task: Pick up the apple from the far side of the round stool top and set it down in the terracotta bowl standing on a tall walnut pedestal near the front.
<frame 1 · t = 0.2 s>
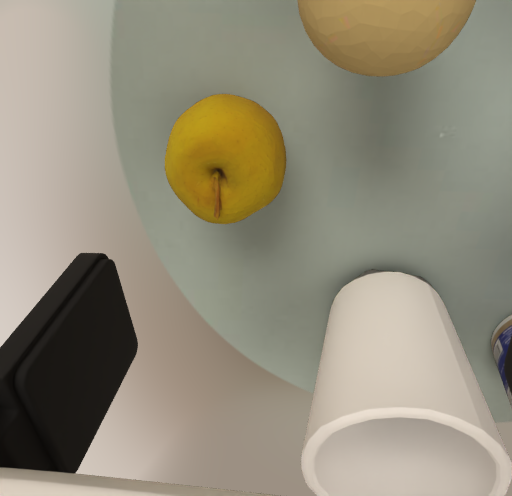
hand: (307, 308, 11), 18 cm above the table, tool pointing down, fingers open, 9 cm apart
apple: (241, 131, 29), on the table
cup: (385, 306, 34), on the table
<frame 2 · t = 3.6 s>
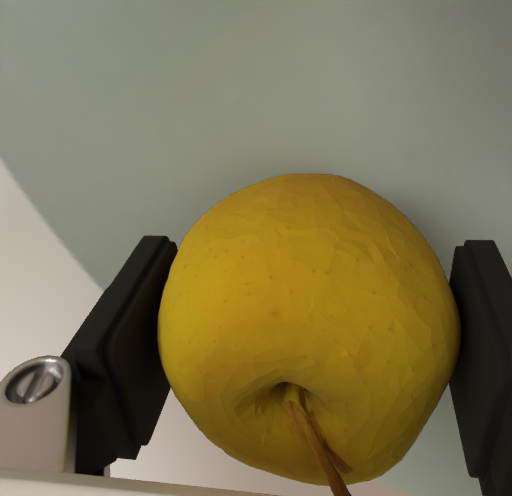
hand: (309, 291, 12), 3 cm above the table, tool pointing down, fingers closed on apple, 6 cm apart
apple: (316, 223, 14), on the table, touching gripper
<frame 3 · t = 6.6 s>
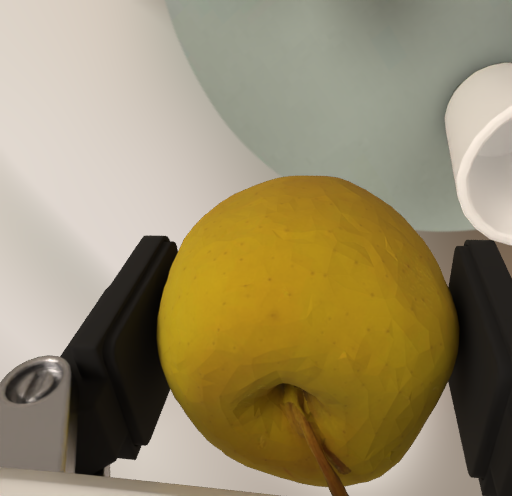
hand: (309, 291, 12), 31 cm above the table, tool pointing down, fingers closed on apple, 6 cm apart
apple: (315, 224, 14), point 28 cm above the table, touching gripper
cup: (493, 109, 38), on the table
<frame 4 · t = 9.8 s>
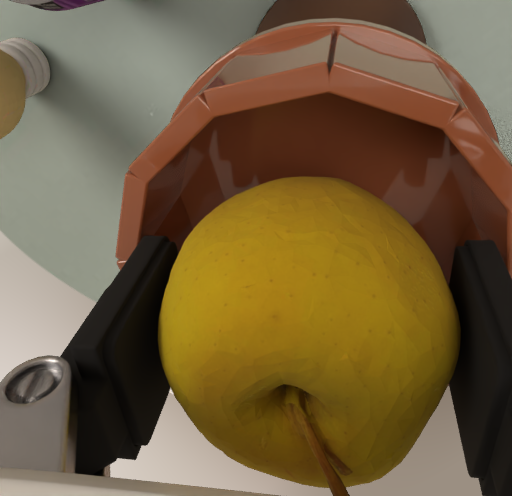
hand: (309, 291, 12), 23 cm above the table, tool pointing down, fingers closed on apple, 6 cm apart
pedestal: (335, 69, 31), on the table
light bulb: (31, 63, 34), on the table
apple: (316, 225, 14), point 20 cm above the table, touching gripper
bowl: (321, 194, 16), resting on pedestal
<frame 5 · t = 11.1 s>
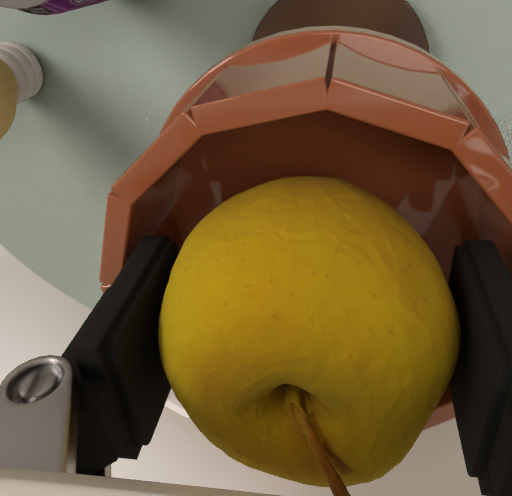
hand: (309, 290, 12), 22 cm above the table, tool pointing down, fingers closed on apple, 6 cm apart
pedestal: (335, 73, 30), on the table
light bulb: (23, 67, 33), on the table
apple: (316, 225, 14), point 19 cm above the table, touching gripper
bowl: (320, 210, 15), resting on pedestal
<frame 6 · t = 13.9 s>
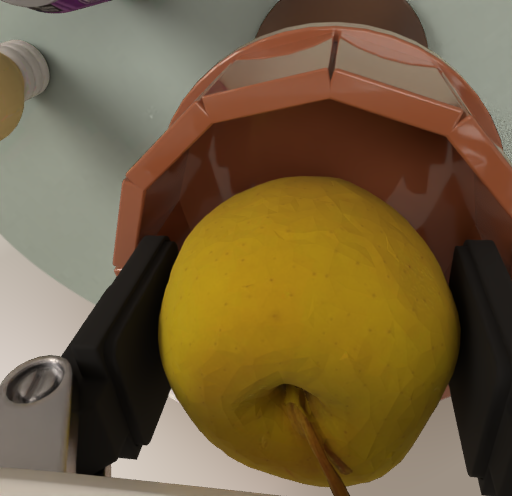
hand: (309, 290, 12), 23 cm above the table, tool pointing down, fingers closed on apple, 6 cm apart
pedestal: (336, 71, 31), on the table
light bulb: (30, 65, 34), on the table
apple: (316, 225, 14), point 20 cm above the table, touching gripper
bowl: (322, 200, 16), resting on pedestal
when the fingers open (23 cm above the table, at t = 16.2 s): apple stays where it is, resting on bowl.
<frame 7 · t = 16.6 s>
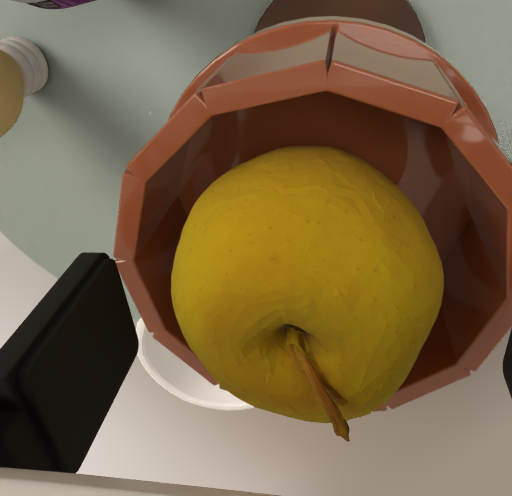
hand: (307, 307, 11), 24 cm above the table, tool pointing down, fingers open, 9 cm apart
pedestal: (334, 67, 31), on the table
light bulb: (29, 62, 34), on the table
apple: (315, 198, 16), point 19 cm above the table, touching bowl
cup: (249, 243, 40), on the table
bowl: (320, 193, 16), resting on pedestal
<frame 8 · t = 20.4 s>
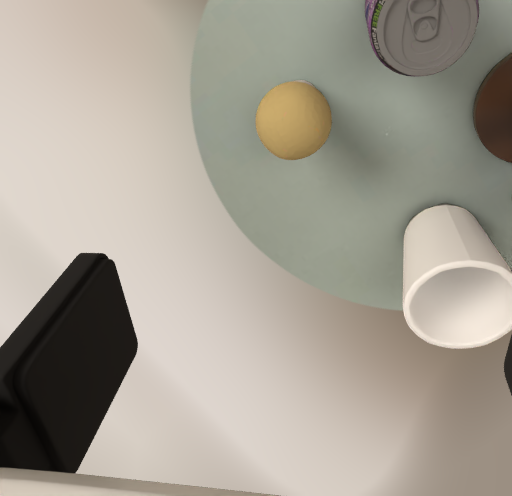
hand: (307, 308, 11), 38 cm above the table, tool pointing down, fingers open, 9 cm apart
light bulb: (300, 97, 47), on the table
beverage can: (407, 3, 41), on the table
cup: (439, 231, 52), on the table
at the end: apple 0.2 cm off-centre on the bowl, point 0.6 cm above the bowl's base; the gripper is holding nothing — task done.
